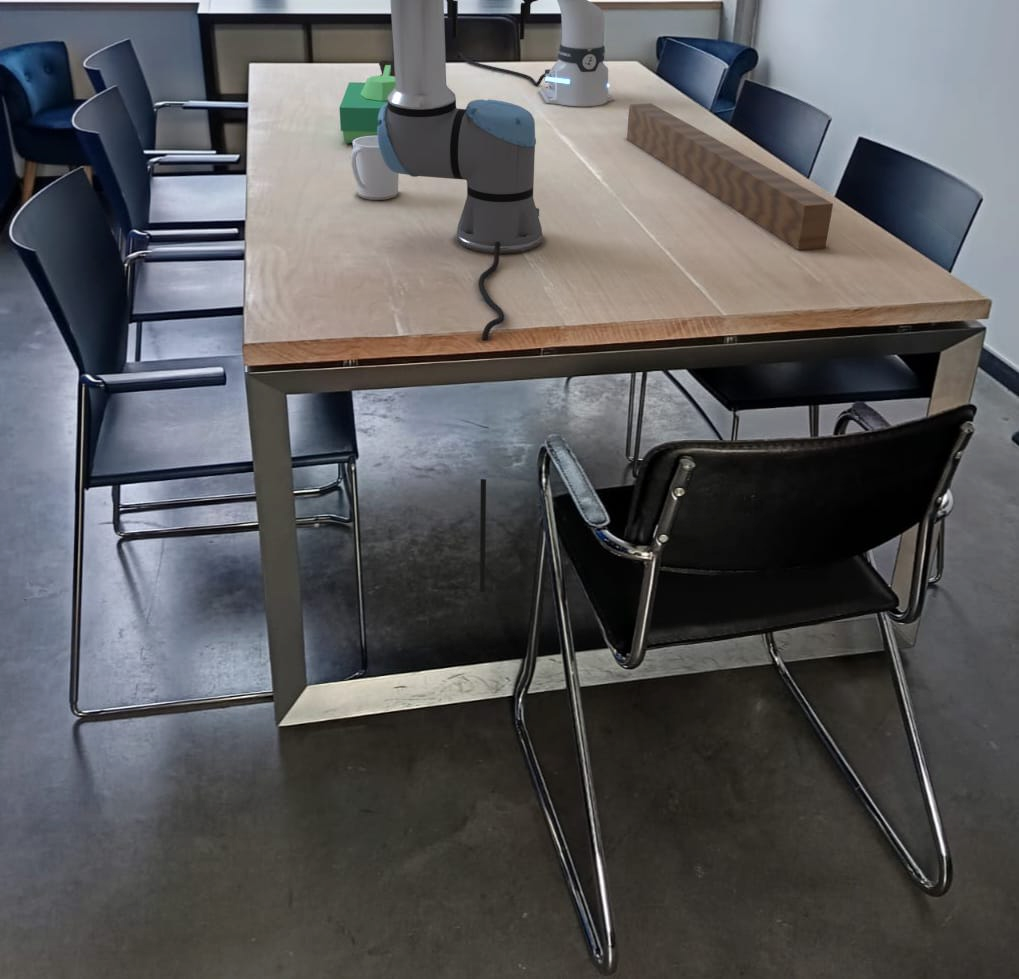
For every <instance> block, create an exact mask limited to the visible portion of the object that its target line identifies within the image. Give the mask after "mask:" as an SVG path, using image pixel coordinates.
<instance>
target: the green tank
mask: <svg viewBox="0 0 1019 979" xmlns="http://www.w3.org/2000/svg"><path fill="white" fill-rule="evenodd" d="M390 73H391V65H385V68H384V72H383V75H382V74H380V75H381V76H380V75H371V76H370V77H368V78H367V79H366V80H365V82H356V81H355V82H352V81H349V82H348V84H347V87H346V89H345V92H344V94H343V97H342V99H341V102H340V105H339V123H340V132H342V134H343V140H344V143H345V144H353V140H354V139H356V138H359V137H364V136H378V135H377V127H378V115H379V112H380V109H381V108H382V106H383V105H385V104H387V103H388V100H387V98H388V95H389V94H390V93H391V92H392V91H393V89H394V88H395V86H396V84H395V76H390Z"/></svg>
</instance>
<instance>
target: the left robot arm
mask: <svg viewBox="0 0 1019 979" xmlns="http://www.w3.org/2000/svg"><path fill="white" fill-rule="evenodd" d="M444 1H446V14H447V15H446V17H447V19H449V20H450V19H451V20H452V38H457V37H458V36H459V0H389V2H390V15H391V16H390V17H391V32H392V33H391V34H392V50H393V61H394V67H395V84H396V86H395V88H394V89H393V91H392V92H391V93H390V94H389V95H388V98H387V100H388V103H387V104H385V105H383V106H382V108H381V109H380V112H379V115H378V127H377V135H378V143H379V148H380V152H381V155H382V158H383V160H384V162H385V164H386V165H387V166H388V167H389V169H390V170H392V171H393V172H395V173H398V175H399V174H400V175H407V176H410V177H413V178H417V177H425V178H437V179H451V180H463V181H466V192H467V193H466V198H465V202H464V205H463V209H462V211H461V214H460V218H459V220H458V224H457V228H456V241H457V243H458V244H459V245H461V246H462V247H464V248H466V249H468V250H470V251H475V252H479V253H486V254H493V262H492V264H491V266H490V267H489V268H488V269H486V270H485V271H484V272H483V273H481V274H480V277H479V279H478V289H479V292H480V294H481V296H482V298H483V300H484V301H485V303H486V304H487V305H488V306H489V307H490V308H491V309H492V310H494V312H496V314H497V318H495V319H492V320H491V321H489V322H487V324H486V325H485V326H484V328H483V331H482V335H481V341H482V342H487V341H488V338H489V335H490V331H491V330H492V328H494V327H495V326H497V325H500V324H503V322H504V320H505V314H504V311H503V309H502V308H501V307H500V306H499V305H498V304H497V303H495V301H494V300H493V299H492V298H491V297H490V295H489V293H488V292H487V290H486V287H485V280H486V279H487V278H488V277H489V276H490V275H491V274H493V273H494V272H495V271H496V269H497V268H498V266H499V263H500V255H506V254H507V255H508V254H517V253H524V252H527V251H530V250H533V249H536V248H538V247H539V246H540V245H541V244H542V243H543V229H542V224H541V221H540V220H541V219H540V218H539V217H540V208H538V207H537V206H536V204H535V199H534V184H535V181H534V180H535V158H536V156H535V154H536V144H537V139H536V123H535V118H534V116H533V114H532V113H531V112H530V111H529V110H527V109H526V108H524V107H522V106H520V105H517V104H515V103H511V102H507V101H502V100H496V99H474V100H471V101H469V102H468V104H467V106H466V107H465V108H458V107H457V96H456V94H455V92H454V91H453V90H452V89H451V88H450V87H448V84H447V64H446V63H447V62H446V60H447V59H446V58H447V57H446V34H445V33H446V31H445V2H444ZM538 1H539V0H522V2H521V3H520V8H519V9H520V12H519V20H520V21H519V40H522V41H523V40H525V24H526V22H530V20H531V12H532V11H531V9H532V8H531V6H532V4H533V3H534V2H538ZM479 503H480V505H479V506H480V509H479V510H480V512H479V514H480V516H479V517H480V519H479V520H480V521H479V522H480V524H479V525H480V528H479V532H480V533H479V592H480V593H486V540H487V539H486V536H487V533H486V531H487V530H486V529H487V528H486V526H487V525H486V524H487V522H486V521H487V519H486V518H487V479H485V478H480V502H479Z"/></svg>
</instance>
